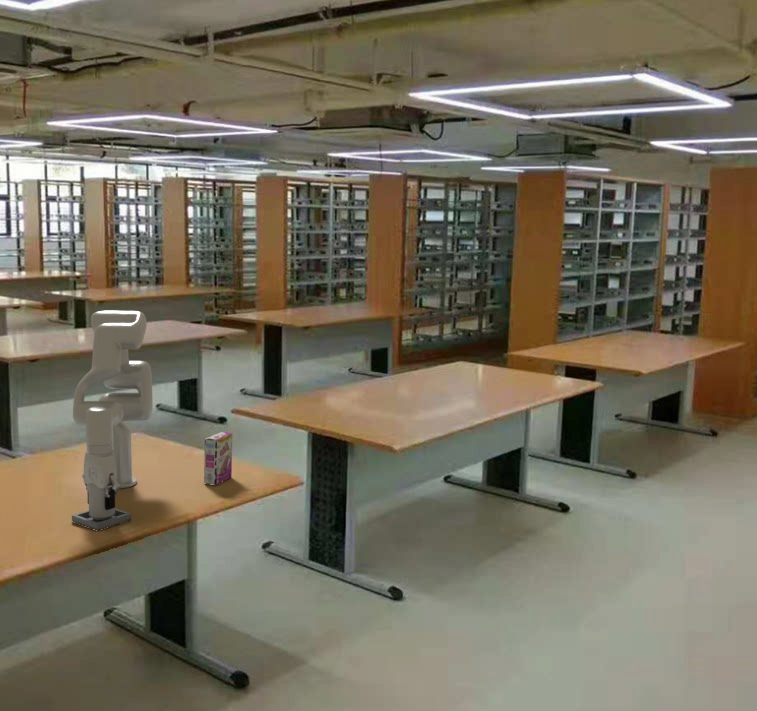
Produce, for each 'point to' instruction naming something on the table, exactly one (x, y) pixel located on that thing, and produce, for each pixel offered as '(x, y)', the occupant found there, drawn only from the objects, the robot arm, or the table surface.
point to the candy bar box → (218, 458)
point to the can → (98, 503)
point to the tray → (95, 524)
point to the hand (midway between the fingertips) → (101, 505)
